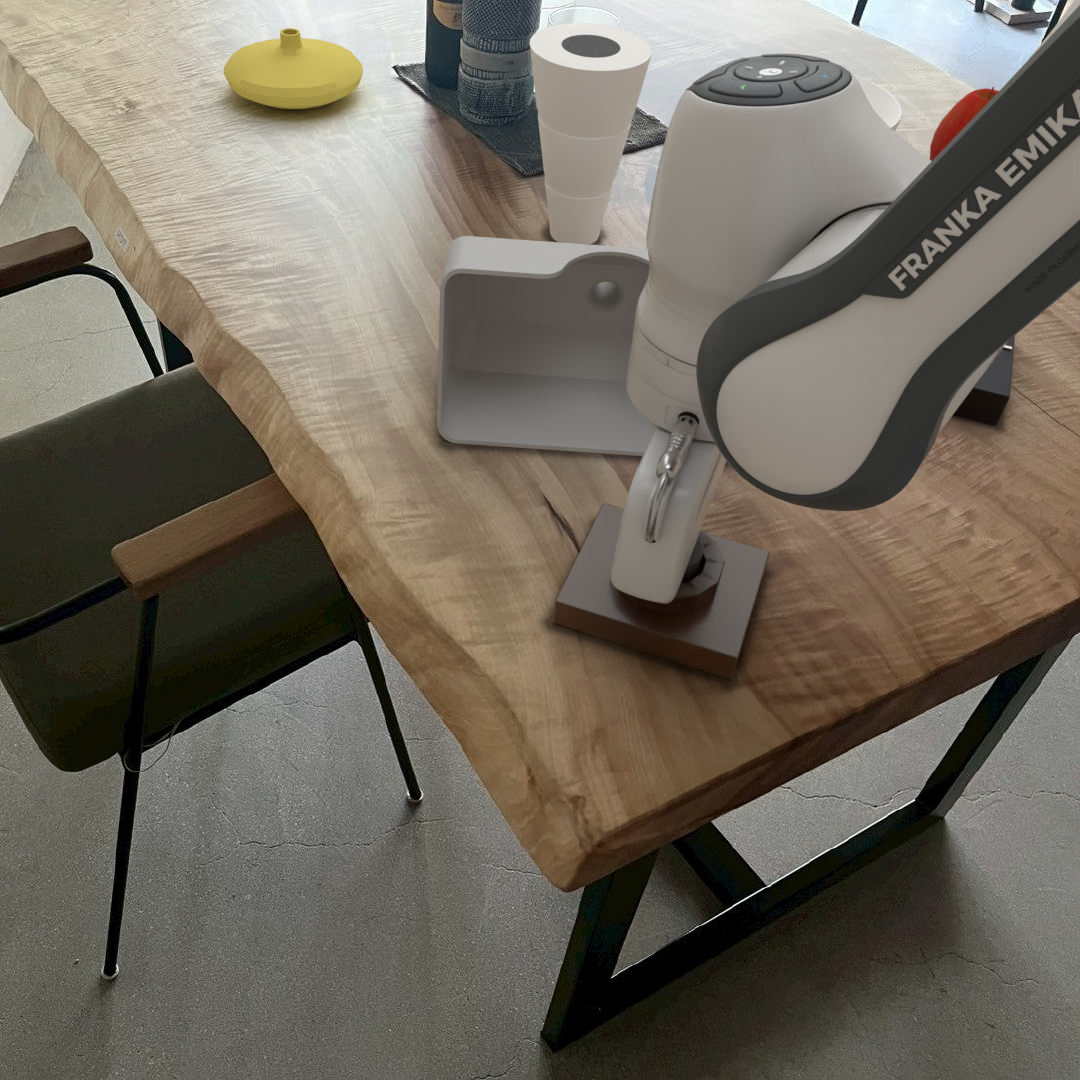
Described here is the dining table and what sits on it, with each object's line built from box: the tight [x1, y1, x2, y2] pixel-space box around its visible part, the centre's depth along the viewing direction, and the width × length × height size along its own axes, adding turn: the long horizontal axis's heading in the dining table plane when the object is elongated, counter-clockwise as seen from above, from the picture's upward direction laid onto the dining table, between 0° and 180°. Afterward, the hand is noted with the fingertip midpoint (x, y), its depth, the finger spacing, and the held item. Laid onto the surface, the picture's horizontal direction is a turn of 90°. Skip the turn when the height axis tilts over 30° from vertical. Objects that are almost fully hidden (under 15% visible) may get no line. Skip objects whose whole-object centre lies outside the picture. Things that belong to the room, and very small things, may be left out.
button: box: [681, 536, 704, 583], centre depth 68 cm, size 4×4×2 cm
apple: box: [929, 86, 1000, 161], centre depth 112 cm, size 8×8×11 cm
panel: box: [952, 335, 1016, 426], centre depth 90 cm, size 14×9×3 cm, turn 160°
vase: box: [223, 27, 364, 110], centre depth 120 cm, size 16×16×7 cm
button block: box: [553, 502, 771, 680], centre depth 69 cm, size 12×10×4 cm
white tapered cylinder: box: [529, 22, 653, 245], centre depth 97 cm, size 11×11×18 cm
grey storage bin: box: [436, 235, 728, 463], centre depth 82 cm, size 25×16×12 cm, turn 88°
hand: (673, 544), depth 67 cm, fingers closed, pressing on button
